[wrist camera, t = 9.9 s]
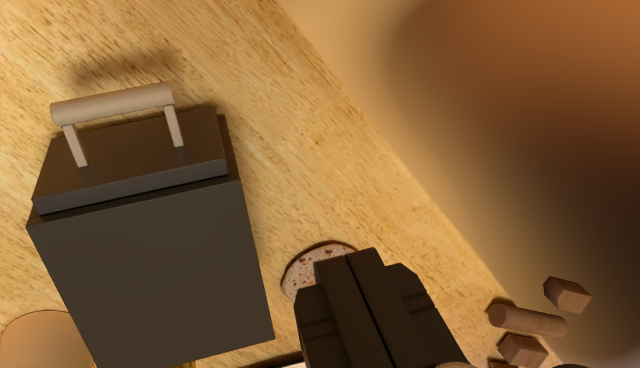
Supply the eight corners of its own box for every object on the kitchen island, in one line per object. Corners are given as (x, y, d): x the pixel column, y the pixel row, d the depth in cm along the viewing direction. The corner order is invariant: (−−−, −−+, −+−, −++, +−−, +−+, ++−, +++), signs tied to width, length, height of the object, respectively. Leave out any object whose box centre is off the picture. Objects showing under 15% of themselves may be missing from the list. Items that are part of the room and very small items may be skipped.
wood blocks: (579, 283, 64) (517, 267, 59) (595, 297, 62) (532, 282, 57) (467, 433, 72) (405, 430, 67) (477, 450, 70) (414, 448, 65)
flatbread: (352, 230, 51) (355, 236, 50) (371, 285, 55) (374, 292, 54) (269, 263, 50) (271, 270, 49) (294, 316, 55) (296, 323, 54)
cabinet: (50, 148, 40) (25, 227, 32) (224, 113, 42) (240, 179, 34) (113, 293, 48) (105, 384, 40) (256, 258, 50) (275, 339, 42)
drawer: (26, 80, 36) (-2, 134, 30) (200, 48, 38) (210, 93, 31) (111, 279, 46) (104, 352, 40) (247, 247, 48) (261, 311, 41)
